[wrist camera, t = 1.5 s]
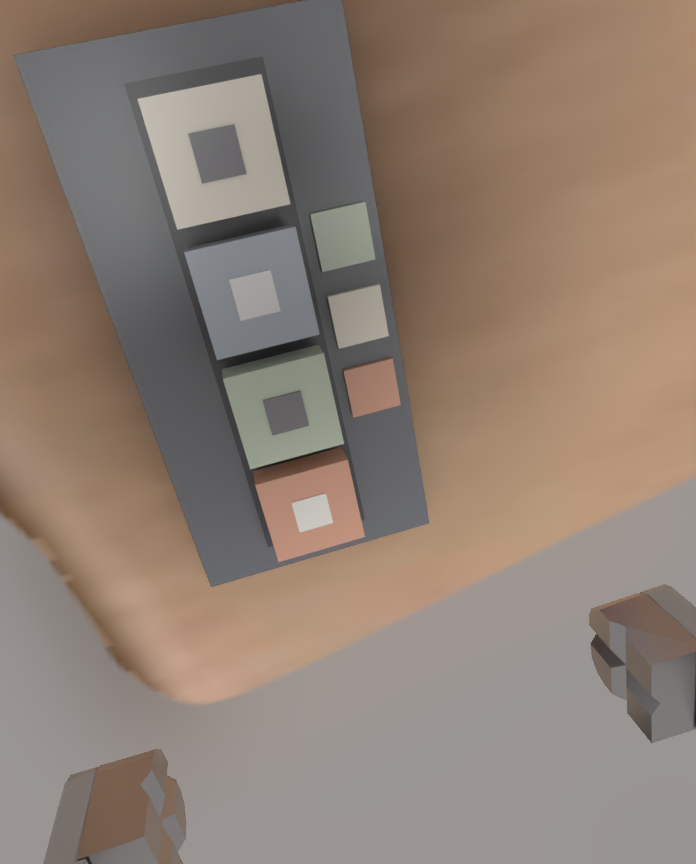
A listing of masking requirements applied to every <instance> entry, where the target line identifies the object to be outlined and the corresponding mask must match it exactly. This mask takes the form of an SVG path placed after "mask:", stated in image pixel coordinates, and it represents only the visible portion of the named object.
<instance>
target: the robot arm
mask: <svg viewBox="0 0 696 864" xmlns="http://www.w3.org/2000/svg"><path fill="white" fill-rule="evenodd" d="M589 625H590V626H591V628H592V629H593V630H594V631H595V632H596V635H595V637H594V639H593V640H592V642H591V652H592V653H591V654H592V659H593V662H594V665H595V667H596V670H597V672H598V674H599V676H600V678H601V679H602V681H603V683H604V684H605V686H606V687H607V688H608V689H609V691H610V692H611V693H612V694H613V695H616V696H618V697H620V698H623V699H625V700H627V713H628V714H629V716H630V717H631V718H632V719H633V721H634V722H635V723H636V724H637V725H638V727H639V728H640V729H641V731H642V732H643V733H644V734H645V735H646V737H647V738H648V739H649V740H650V742H651V743H654V742H657V741H660V740H663V739H666V738H669V737H672V736H676V735H679V734H682V733H685V732H688V731H692V730H695V729H696V607H695V606H694V605H693V604H691V603H690V602H689V601H688V600H687V599H685V598H684V597H683V596H682V595H681V594H679V593H678V592H677V591H676V590H675V589H673V588H672V587H671V586H668V585H665V584H664V585H661V586H658V587H655V588H652V589H649V590H646V591H643V592H640V593H639V594H633V595H631V596H628V597H625V598H622V599H619V600H616V601H613V602H610V603H607V604H604V605H601V606H598V607H595V608H592V609H591V611H590V614H589ZM167 767H168V761H167V760H166V758H165V756H164V754H163V752H162V750H161V749H155V750H152V751H148V752H145V753H142V754H138V755H135V756H131V757H128V758H125V759H121V760H118V761H114V762H111V763H108V764H104V765H101V766H100V767H96V768H93V769H89V770H86V771H82V772H79V773H76V774H72V775H70V777H69V778H68V780H67V782H66V783H65V785H64V788H63V792H62V795H61V799H60V803H59V807H58V810H57V814H56V818H55V822H54V826H53V829H52V833H51V837H50V840H49V844H48V848H47V852H46V856H45V860H44V863H43V864H183V862H182V860H181V858H180V856H179V854H178V851H179V849H180V847H181V845H182V844H183V842H184V841H185V839H186V815H185V806H184V800H183V797H182V793H181V789H180V787H179V785H178V783H177V780H176V779H173V778H171V777H169V776H167Z"/></svg>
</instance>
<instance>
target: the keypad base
mask: <svg viewBox="0 0 696 864" xmlns="http://www.w3.org/2000/svg"><path fill="white" fill-rule="evenodd" d="M13 56H14V59H15V61H16V64H17V67H18V70H19V72H20V75H21V78H22V80H23V83H24V86H25V88H26V91H27V94H28V96H29V99H30V102H31V104H32V107H33V110H34V113H35V115H36V118H37V121H38V123H39V126H40V129H41V131H42V134H43V137H44V139H45V142H46V145H47V147H48V150H49V153H50V155H51V158H52V161H53V164H54V166H55V169H56V172H57V174H58V177H59V180H60V182H61V185H62V188H63V190H64V193H65V196H66V198H67V201H68V204H69V207H70V209H71V212H72V215H73V217H74V220H75V223H76V225H77V228H78V231H79V233H80V236H81V239H82V241H83V244H84V247H85V250H86V252H87V255H88V258H89V260H90V263H91V266H92V268H93V271H94V274H95V276H96V279H97V282H98V284H99V287H100V290H101V293H102V295H103V298H104V301H105V303H106V306H107V309H108V311H109V314H110V317H111V319H112V322H113V325H114V327H115V330H116V333H117V335H118V338H119V341H120V344H121V346H122V349H123V352H124V354H125V357H126V360H127V362H128V365H129V368H130V370H131V373H132V376H133V378H134V381H135V384H136V387H137V389H138V392H139V395H140V397H141V400H142V403H143V405H144V408H145V411H146V413H147V416H148V419H149V421H150V424H151V427H152V430H153V432H154V435H155V438H156V440H157V443H158V446H159V448H160V451H161V454H162V456H163V459H164V462H165V464H166V467H167V470H168V473H169V475H170V478H171V481H172V483H173V486H174V489H175V491H176V494H177V497H178V499H179V502H180V505H181V507H182V510H183V513H184V515H185V518H186V521H187V524H188V526H189V529H190V532H191V534H192V537H193V540H194V542H195V545H196V548H197V550H198V553H199V556H200V558H201V561H202V564H203V567H204V569H205V572H206V575H207V577H208V580H209V583H210V585H211V587H213V586H216V585H220V584H223V583H227V582H230V581H233V580H237V579H240V578H244V577H247V576H251V575H254V574H257V573H261V572H264V571H268V570H271V569H274V568H278V567H281V566H285V565H288V564H291V563H295V562H298V561H302V560H305V559H308V558H312V557H315V556H319V555H322V554H326V553H329V552H332V551H336V550H339V549H343V548H346V547H349V546H353V545H356V544H360V543H363V542H366V541H370V540H373V539H377V538H380V537H383V536H387V535H390V534H394V533H397V532H401V531H404V530H407V529H411V528H414V527H418V526H421V525H424V524H428V523H429V518H428V512H427V506H426V500H425V494H424V488H423V482H422V476H421V470H420V464H419V458H418V452H417V446H416V440H415V434H414V428H413V422H412V416H411V410H410V405H409V399H408V393H407V387H406V381H405V375H404V369H403V363H402V357H401V351H400V345H399V339H398V333H397V327H396V321H395V315H394V309H393V303H392V297H391V291H390V285H389V279H388V273H387V267H386V261H385V255H384V249H383V243H382V237H381V231H380V225H379V219H378V213H377V207H376V201H375V195H374V189H373V183H372V177H371V171H370V165H369V159H368V153H367V147H366V141H365V135H364V129H363V123H362V117H361V111H360V105H359V99H358V93H357V87H356V81H355V75H354V69H353V63H352V57H351V51H350V45H349V39H348V33H347V27H346V21H345V15H344V9H343V3H342V0H304V1H298V2H293V3H288V4H282V5H277V6H272V7H266V8H261V9H256V10H251V11H245V12H240V13H235V14H229V15H224V16H219V17H213V18H208V19H203V20H198V21H192V22H187V23H182V24H176V25H171V26H166V27H160V28H155V29H150V30H145V31H139V32H134V33H129V34H123V35H118V36H113V37H107V38H102V39H97V40H92V41H86V42H81V43H76V44H70V45H65V46H60V47H54V48H49V49H44V50H39V51H33V52H28V53H23V54H17V55H13ZM259 74H262V79H263V83H264V88H265V92H266V97H267V101H268V106H269V110H270V115H271V119H272V124H273V128H274V133H275V137H276V141H277V146H278V150H279V155H280V159H281V164H282V168H283V173H284V177H285V182H286V186H287V191H288V195H289V199H290V204H289V205H285V206H280V207H276V208H271V209H267V210H263V211H258V212H254V213H249V214H245V215H241V216H236V217H232V218H227V219H223V220H218V221H214V222H210V223H205V224H201V225H196V226H192V227H187V228H183V229H179V230H177V227H176V224H175V221H174V217H173V214H172V211H171V208H170V204H169V201H168V198H167V195H166V191H165V188H164V185H163V181H162V178H161V175H160V172H159V168H158V165H157V162H156V158H155V155H154V152H153V149H152V145H151V142H150V139H149V135H148V132H147V129H146V126H145V122H144V119H143V116H142V112H141V109H140V106H139V103H138V99H139V98H144V97H149V96H154V95H159V94H164V93H169V92H174V91H179V90H184V89H189V88H194V87H199V86H204V85H209V84H214V83H219V82H224V81H229V80H234V79H239V78H244V77H249V76H254V75H259ZM290 224H292V225H293V226H295V227H296V231H297V235H298V240H299V244H300V249H301V253H302V258H303V262H304V266H305V271H306V275H307V280H308V284H309V289H310V293H311V298H312V302H313V307H314V311H315V316H316V320H317V325H318V329H319V333H320V334H319V335H315V336H311V337H307V338H303V339H299V340H296V341H292V342H288V343H284V344H280V345H276V346H272V347H268V348H264V349H260V350H256V351H252V352H248V353H244V354H240V355H236V356H232V357H228V358H224V359H220V360H217V359H216V355H215V352H214V349H213V345H212V342H211V339H210V336H209V332H208V329H207V326H206V322H205V319H204V316H203V313H202V309H201V306H200V303H199V299H198V296H197V293H196V290H195V286H194V283H193V280H192V277H191V273H190V270H189V267H188V263H187V260H186V257H185V254H184V251H185V249H186V248H190V247H194V246H199V245H203V244H207V243H212V242H216V241H220V240H225V239H229V238H233V237H238V236H242V235H247V234H251V233H255V232H260V231H264V230H268V229H273V228H277V227H281V226H286V225H290ZM315 345H319V346H320V348H321V349H322V351H323V353H324V356H325V360H326V365H327V369H328V374H329V378H330V383H331V387H332V392H333V396H334V400H335V405H336V409H337V414H338V418H339V423H340V427H341V432H342V436H343V441H344V444H342V445H338V446H334V447H331V448H327V449H323V450H320V451H316V452H312V453H309V454H305V455H301V456H298V457H294V458H290V459H287V460H283V461H279V462H276V463H272V464H268V465H265V466H261V467H257V468H254V469H250V467H249V463H248V460H247V457H246V454H245V450H244V447H243V444H242V441H241V437H240V434H239V431H238V427H237V424H236V421H235V418H234V414H233V411H232V408H231V404H230V401H229V398H228V395H227V391H226V388H225V385H224V381H223V374H222V369H225V368H229V367H232V366H236V365H240V364H244V363H248V362H252V361H256V360H260V359H264V358H268V357H272V356H276V355H280V354H284V353H288V352H292V351H296V350H299V349H303V348H307V347H311V346H315ZM340 447H342V449H343V451H344V453H345V455H346V457H347V459H348V463H349V467H350V472H351V476H352V481H353V485H354V490H355V494H356V499H357V503H358V508H359V512H360V517H361V521H362V525H363V530H364V534H365V537H363V538H360V539H356V540H353V541H349V542H346V543H343V544H339V545H336V546H332V547H329V548H325V549H322V550H319V551H315V552H312V553H308V554H305V555H302V556H298V557H295V558H291V559H288V560H284V561H281V562H278V559H277V555H276V552H275V549H274V545H273V542H272V539H271V536H270V532H269V529H268V526H267V523H266V519H265V516H264V513H263V509H262V506H261V503H260V500H259V496H258V493H257V490H256V486H255V481H254V473H253V471H256V470H259V469H263V468H267V467H270V466H274V465H278V464H281V463H285V462H289V461H292V460H296V459H300V458H303V457H307V456H310V455H314V454H318V453H321V452H325V451H329V450H332V449H336V448H340Z"/></svg>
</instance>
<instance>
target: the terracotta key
mask: <svg viewBox="0 0 696 864" xmlns="http://www.w3.org/2000/svg"><path fill="white" fill-rule="evenodd" d="M253 473H254V481H255V486H256V490H257V493H258V496H259V500H260V503H261V506H262V509H263V513H264V516H265V519H266V523H267V526H268V529H269V532H270V536H271V539H272V542H273V545H274V549H275V552H276V555H277V559H278V562H281V561H284V560H288V559H291V558H295V557H298V556H302V555H305V554H308V553H312V552H315V551H319V550H322V549H325V548H329V547H332V546H336V545H339V544H343V543H346V542H349V541H353V540H356V539H360V538H363V537H365V534H364V530H363V525H362V521H361V517H360V512H359V508H358V503H357V499H356V494H355V490H354V485H353V481H352V476H351V472H350V467H349V463H348V459H347V457H346V455H345V453H344V451H343V449H342V447H340V448H336V449H332V450H329V451H325V452H321V453H318V454H314V455H310V456H307V457H303V458H300V459H296V460H292V461H289V462H285V463H281V464H278V465H274V466H270V467H267V468H263V469H259V470H256V471H253Z"/></svg>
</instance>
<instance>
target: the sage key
mask: <svg viewBox="0 0 696 864" xmlns="http://www.w3.org/2000/svg"><path fill="white" fill-rule="evenodd" d="M222 374H223V381H224V385H225V388H226V391H227V395H228V398H229V401H230V404H231V408H232V411H233V414H234V418H235V421H236V424H237V427H238V431H239V434H240V437H241V441H242V444H243V447H244V450H245V454H246V457H247V460H248V463H249V467H250V469H254V468H257V467H261V466H265V465H268V464H272V463H276V462H279V461H283V460H287V459H290V458H294V457H298V456H301V455H305V454H309V453H312V452H316V451H320V450H323V449H327V448H331V447H334V446H338V445H342V444H344V441H343V436H342V432H341V427H340V423H339V418H338V414H337V409H336V405H335V400H334V396H333V392H332V387H331V383H330V378H329V374H328V369H327V365H326V360H325V356H324V353H323V351H322V349H321V348H320V346H319V345H315V346H311V347H307V348H303V349H299V350H296V351H292V352H288V353H284V354H280V355H276V356H272V357H268V358H264V359H260V360H256V361H252V362H248V363H244V364H240V365H236V366H232V367H229V368H225V369H222Z"/></svg>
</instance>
